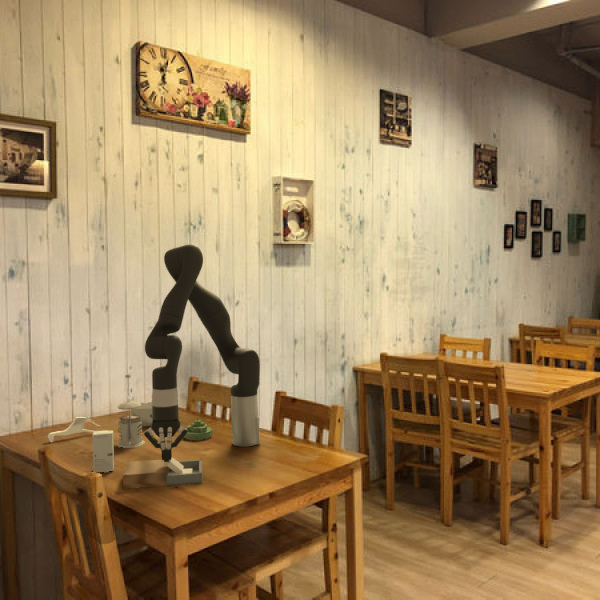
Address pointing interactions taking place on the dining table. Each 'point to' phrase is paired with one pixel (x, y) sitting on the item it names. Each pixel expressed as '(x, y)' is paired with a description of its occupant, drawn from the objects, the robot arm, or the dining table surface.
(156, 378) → the robot arm
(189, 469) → the tile
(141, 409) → the teacup
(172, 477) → the tray
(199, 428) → the decorative artifact
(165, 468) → the board
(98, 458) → the skincare box
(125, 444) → the french press
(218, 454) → the dining table surface
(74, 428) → the white clothes hanger
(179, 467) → the tile
